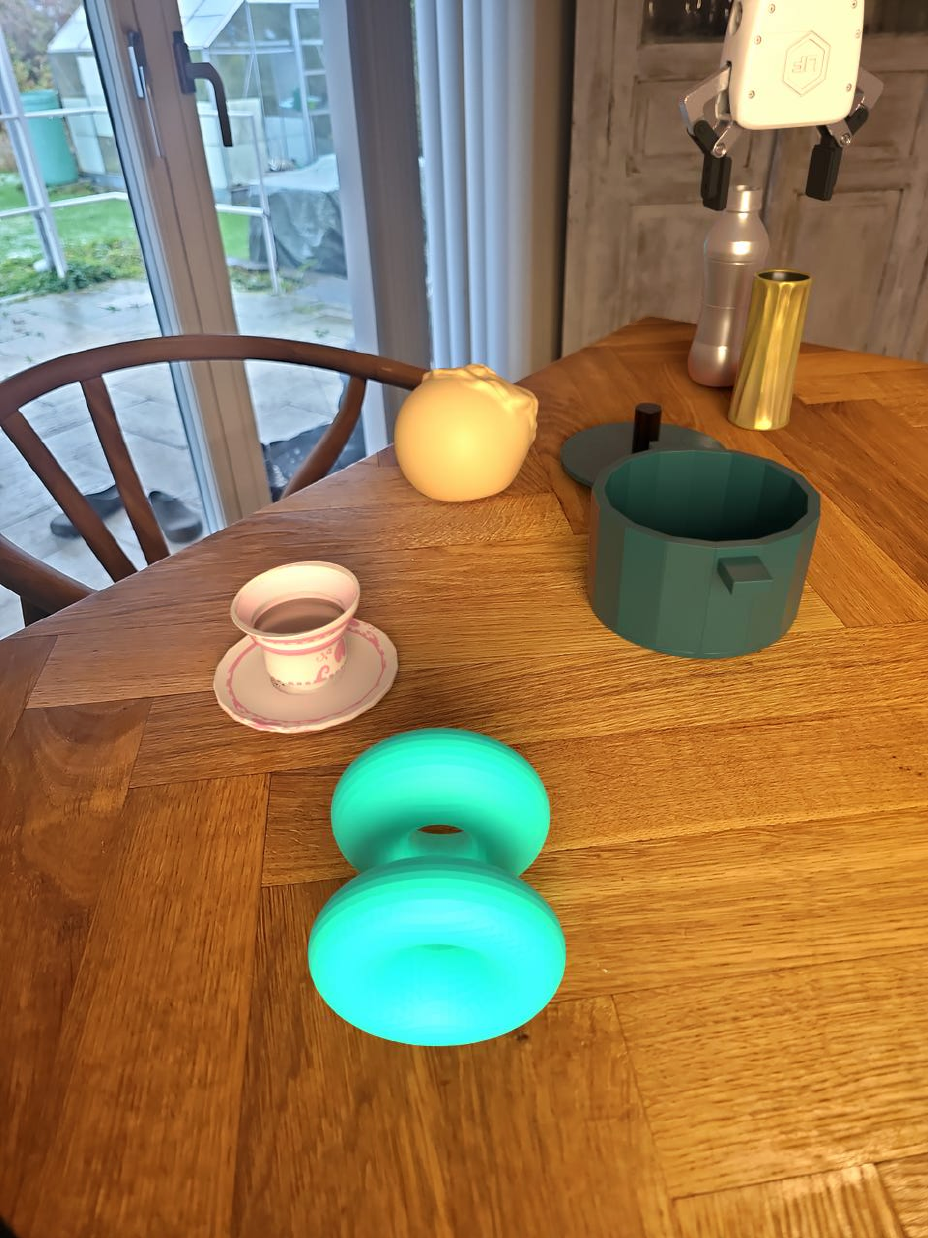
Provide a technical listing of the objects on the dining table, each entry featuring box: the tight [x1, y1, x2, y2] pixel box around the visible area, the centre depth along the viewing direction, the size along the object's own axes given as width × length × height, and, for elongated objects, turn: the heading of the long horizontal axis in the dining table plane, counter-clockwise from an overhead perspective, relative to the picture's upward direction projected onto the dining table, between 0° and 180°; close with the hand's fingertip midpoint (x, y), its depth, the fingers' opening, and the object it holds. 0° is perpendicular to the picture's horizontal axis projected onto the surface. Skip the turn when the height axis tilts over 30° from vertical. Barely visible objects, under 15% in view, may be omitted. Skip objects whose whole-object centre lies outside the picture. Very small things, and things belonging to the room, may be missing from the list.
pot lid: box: [559, 402, 727, 489], centre depth 78 cm, size 16×16×6 cm
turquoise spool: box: [307, 727, 567, 1047], centre depth 36 cm, size 10×10×10 cm
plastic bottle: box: [687, 184, 770, 388], centre depth 90 cm, size 6×7×20 cm
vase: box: [726, 267, 813, 432], centre depth 83 cm, size 6×6×14 cm
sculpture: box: [393, 363, 539, 503], centre depth 74 cm, size 11×12×11 cm
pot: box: [585, 440, 822, 660], centre depth 59 cm, size 15×20×8 cm
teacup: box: [212, 560, 399, 734], centre depth 54 cm, size 12×12×6 cm
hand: (766, 203), depth 73 cm, fingers open, 9 cm apart
